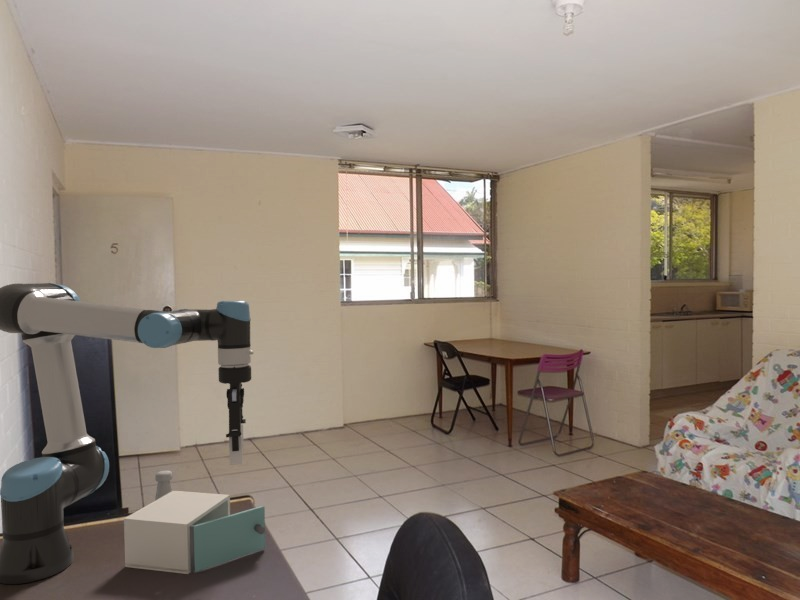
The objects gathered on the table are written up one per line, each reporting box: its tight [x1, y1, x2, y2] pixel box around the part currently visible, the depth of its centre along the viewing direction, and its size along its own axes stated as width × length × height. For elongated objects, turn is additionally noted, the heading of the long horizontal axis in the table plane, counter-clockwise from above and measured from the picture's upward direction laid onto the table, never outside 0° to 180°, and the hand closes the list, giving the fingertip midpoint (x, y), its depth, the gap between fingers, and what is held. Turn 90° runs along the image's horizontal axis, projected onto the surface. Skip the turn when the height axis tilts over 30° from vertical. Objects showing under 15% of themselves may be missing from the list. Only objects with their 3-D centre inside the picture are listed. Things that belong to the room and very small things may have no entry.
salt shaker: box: [154, 470, 173, 501], centre depth 156 cm, size 6×6×13 cm
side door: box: [190, 505, 266, 574], centre depth 131 cm, size 4×18×10 cm, turn 132°
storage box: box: [123, 490, 231, 575], centre depth 137 cm, size 16×18×11 cm
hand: (237, 457), depth 138 cm, fingers open, 10 cm apart
